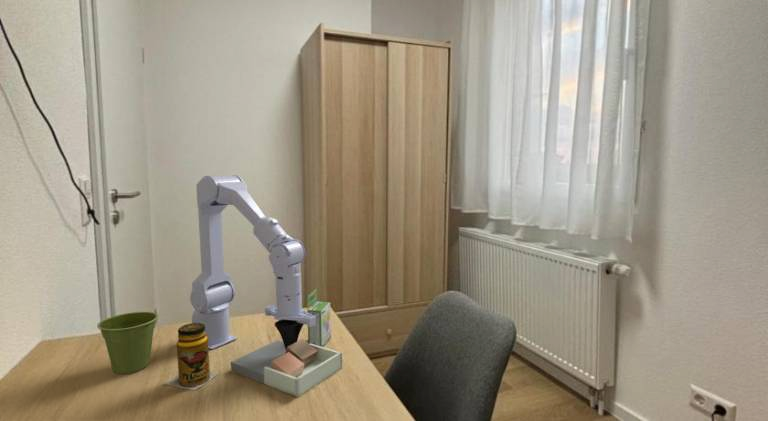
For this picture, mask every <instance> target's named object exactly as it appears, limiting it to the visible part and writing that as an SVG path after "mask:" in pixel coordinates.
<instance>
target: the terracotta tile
mask: <svg viewBox="0 0 768 421" xmlns="http://www.w3.org/2000/svg"><path fill="white" fill-rule="evenodd" d="M304 365H305V364H304V363H303V362H301V361H300V360H299V359H297V358H296V357H295V356H293V355H292V354H291V353H289V352H288V353H286V354H284V355H282V356H280V357H278V358H276V359H275V360H273V361H272V362H271V366H270V368H272V369H274V370H277V371H280V372H283V373H285V374H288V375H291V376H294V377H298V376H299V375H301V374H302V373H303V369H304Z"/></svg>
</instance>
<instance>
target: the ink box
mask: <svg viewBox="0 0 768 421" xmlns="http://www.w3.org/2000/svg"><path fill="white" fill-rule="evenodd" d="M313 296H314V298H313V299H312V297H313ZM306 299H307V311H306V312H307V313H309V314H311V315H313V316H316V325H314V326H311V327H308V326H307V343H308V344H310V343H311V344H314V345H317V346H321V347H324V346H325V345H327V342H329V340H330V339H331V338H332V323H331V322H332V320H331V319H332V318H331V315H332V314H331V302H328V301H318V296H317V288H315V289H314V290H313V291H312V292H310V294H308V295H307V298H306Z"/></svg>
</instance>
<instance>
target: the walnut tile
mask: <svg viewBox="0 0 768 421" xmlns="http://www.w3.org/2000/svg"><path fill="white" fill-rule="evenodd" d="M288 352H289V353H291V354H292V355H293V356H295V357H296V358H297V359H299V360H300V361H301V362H303V363H304V364H305V365H306V364H308V363H310V362H312V361H313V360H315V358H316V355H317V350H316V349H315V348H313V347H312V346H311V345H310V344H308V341H306V340H305V339H303V338H301V339H299V340H297V342H295V343H293V344H291V345H290V346H288V347H287V349H286V352H285V354H286V353H288ZM305 365H304V366H305Z"/></svg>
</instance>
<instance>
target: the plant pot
mask: <svg viewBox="0 0 768 421" xmlns="http://www.w3.org/2000/svg"><path fill="white" fill-rule="evenodd" d="M158 318H159V314H158V313H156V312H153V311H133V312H126V313H122V314H116V315H114V316H111V317H107V318H105V319H103V320H101V321H100V322H98V323H97V325H96V326H97V329H98V330H100V332H101V335H102V338H103V339H104V342H105V346H106V350H107V354H108V357H109V361H110V365H111V368H112V371H113V373H117V374H119V375H127V374H130V373H131V374H133V373H136V372H140V370H141V369H143V368H147V367H148V366H149V365H150V362H151V354H152V345H153V338H154V330H155V328H156V321H157V320H158Z"/></svg>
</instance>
